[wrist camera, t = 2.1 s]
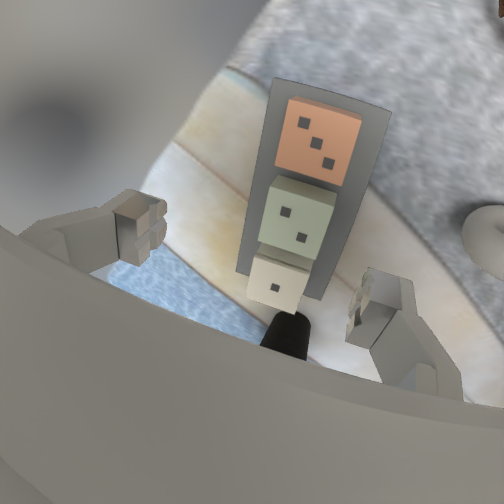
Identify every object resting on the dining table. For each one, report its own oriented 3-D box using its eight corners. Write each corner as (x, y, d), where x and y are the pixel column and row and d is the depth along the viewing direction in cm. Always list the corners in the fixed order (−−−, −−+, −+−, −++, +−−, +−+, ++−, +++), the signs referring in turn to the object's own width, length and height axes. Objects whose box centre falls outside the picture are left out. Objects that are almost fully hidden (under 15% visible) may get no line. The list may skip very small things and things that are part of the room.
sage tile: (278, 174, 26) (269, 186, 24) (337, 193, 26) (334, 207, 23) (266, 225, 29) (257, 241, 27) (319, 243, 29) (315, 260, 26)
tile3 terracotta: (296, 95, 22) (288, 99, 20) (361, 115, 21) (361, 121, 19) (282, 155, 25) (274, 165, 23) (343, 174, 24) (341, 186, 22)
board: (275, 77, 24) (268, 78, 22) (390, 111, 22) (393, 115, 20) (238, 266, 36) (230, 279, 34) (321, 295, 35) (318, 310, 33)
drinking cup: (316, 300, 36) (269, 466, 20) (325, 344, 39) (288, 490, 23) (255, 301, 39) (186, 447, 23) (270, 343, 42) (217, 476, 26)
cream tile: (262, 240, 31) (253, 257, 28) (314, 258, 30) (309, 276, 27) (253, 280, 34) (244, 298, 31) (299, 296, 33) (294, 315, 31)
